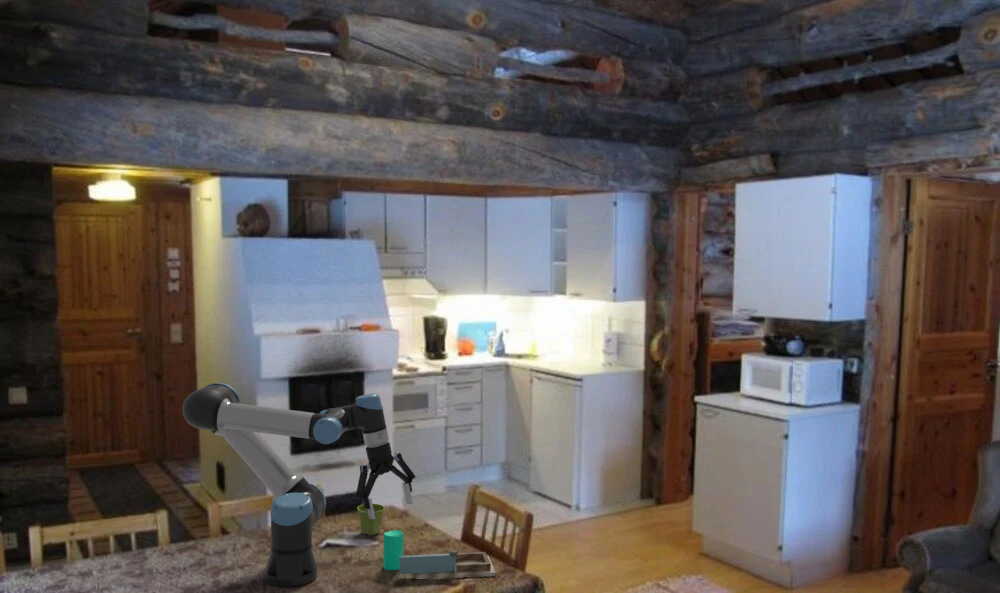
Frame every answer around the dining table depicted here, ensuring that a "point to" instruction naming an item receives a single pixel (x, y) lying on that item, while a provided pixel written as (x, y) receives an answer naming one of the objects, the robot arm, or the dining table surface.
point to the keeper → (428, 563)
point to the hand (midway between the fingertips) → (391, 510)
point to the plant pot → (369, 524)
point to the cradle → (465, 567)
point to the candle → (392, 549)
